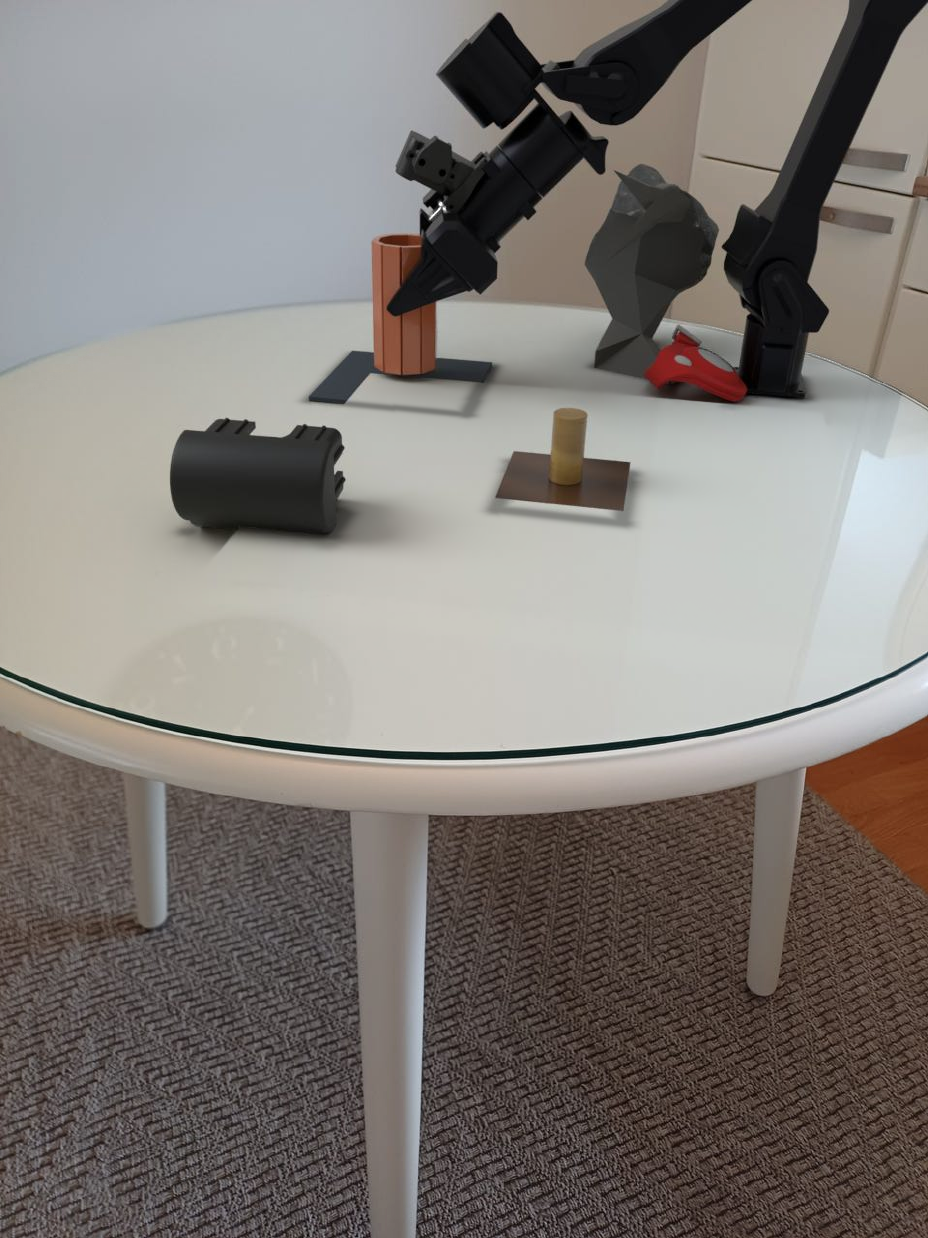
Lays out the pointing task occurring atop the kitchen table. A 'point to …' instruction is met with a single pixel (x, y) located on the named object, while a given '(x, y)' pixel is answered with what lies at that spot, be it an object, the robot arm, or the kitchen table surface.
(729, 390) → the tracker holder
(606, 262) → the grey angular chunk
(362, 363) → the flat corner bracket
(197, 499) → the end cap
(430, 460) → the kitchen table surface
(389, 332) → the orange tube
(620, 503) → the ring holder
